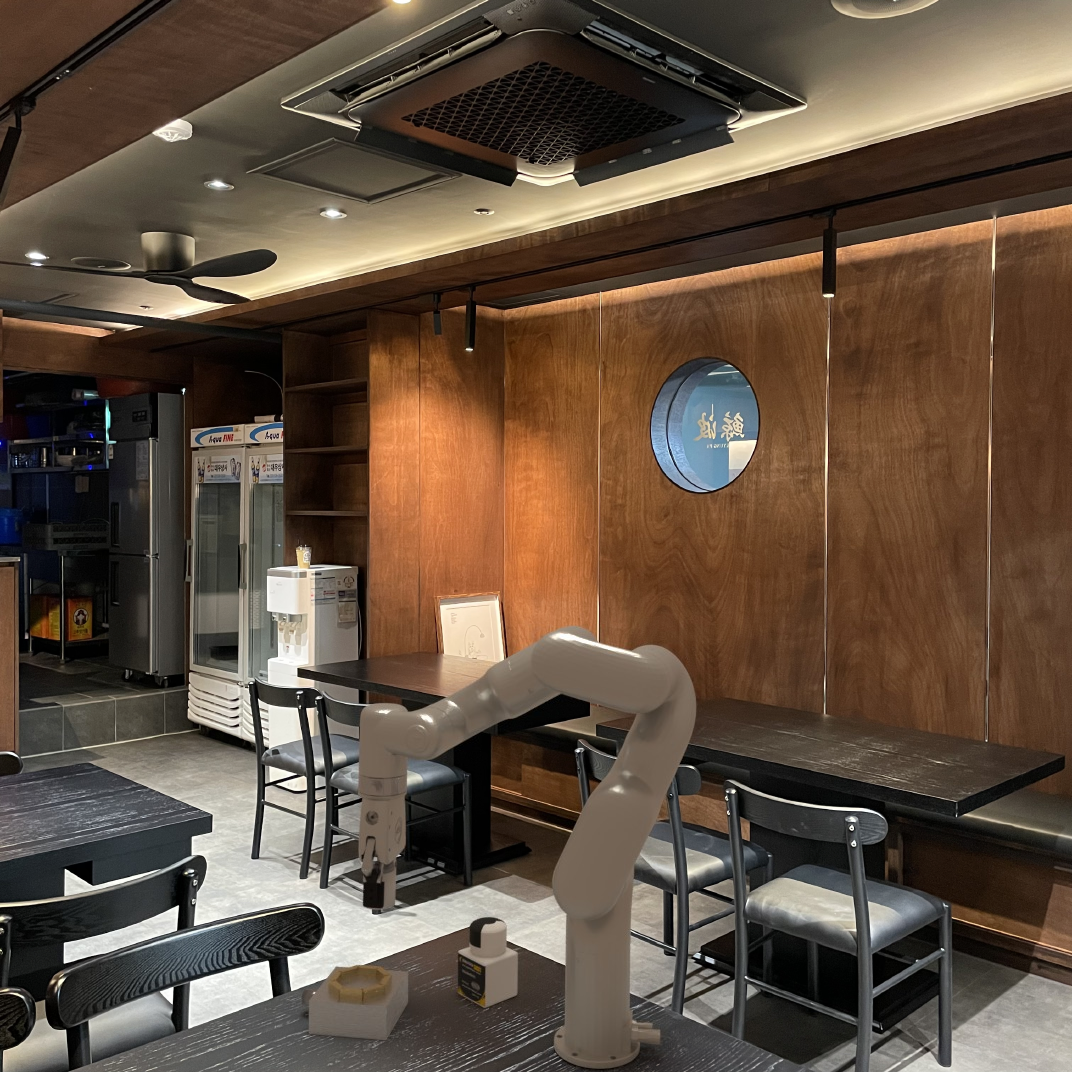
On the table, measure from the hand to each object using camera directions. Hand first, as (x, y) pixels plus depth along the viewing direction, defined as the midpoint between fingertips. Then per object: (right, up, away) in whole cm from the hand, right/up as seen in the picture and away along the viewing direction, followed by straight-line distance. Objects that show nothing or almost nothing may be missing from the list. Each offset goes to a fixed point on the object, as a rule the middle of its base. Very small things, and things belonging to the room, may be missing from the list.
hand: (379, 899), depth 157 cm
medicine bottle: (+17, -18, +7) cm, 26 cm away
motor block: (-4, -18, -1) cm, 19 cm away
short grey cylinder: (0, -1, 0) cm, 1 cm away
